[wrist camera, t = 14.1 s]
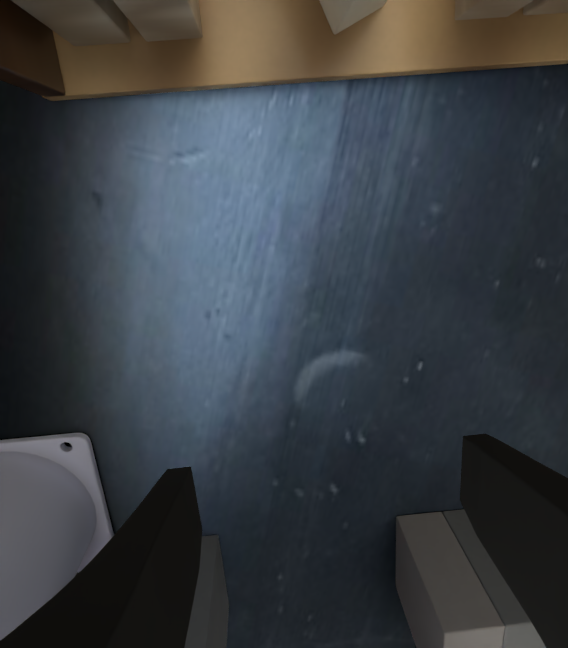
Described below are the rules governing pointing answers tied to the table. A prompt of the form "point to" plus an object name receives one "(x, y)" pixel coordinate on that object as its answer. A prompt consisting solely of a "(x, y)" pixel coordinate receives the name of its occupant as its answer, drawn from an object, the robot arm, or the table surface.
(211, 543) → the grey books
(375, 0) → the white book
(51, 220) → the table surface
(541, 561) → the robot arm
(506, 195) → the table surface
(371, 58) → the wooden book rack
